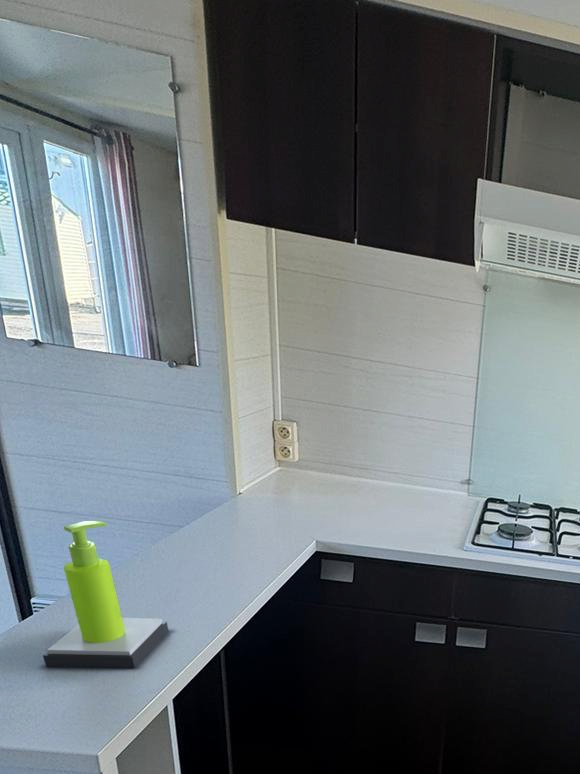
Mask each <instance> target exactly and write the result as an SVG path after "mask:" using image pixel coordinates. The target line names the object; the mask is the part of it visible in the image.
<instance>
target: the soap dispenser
mask: <svg viewBox="0 0 580 774" xmlns="http://www.w3.org/2000/svg"><path fill="white" fill-rule="evenodd" d="M108 524H109V523H107V522H105V521H102V520H85V521H80V522H76V523H71V524H68V525H65V526H63V529H64V531H65V532H69V533H71V535H72V539H73V542H72V543H70V544H69V545H68V550H69V554H70V558H71V561H70V562H68V563H66V564H65V565H64V566H63V570H64V575H65V578H66V582H67V585H68V590H69V593H70V596H71V600H72V603H73V607H74V611H75V615H76V618H77V622H78V624H79V626H80V630H81V634H82V638H83V640H85V641H87V642H91V643H102V642H108V641H112V640H115V639H118V638H120V637H121V636H123V635H124V634H125V628H124V624H123V620H122V618H123V616H122V612H121V608H120V607H121V606H120V603H119V599H118V594H117V590H116V586H115V582H114V578H113V574H112V568H111V565H110V562H109V561H108V560H107V559H104V558H99V555H98V550H97V546H96V543H95V542H93V541H90V540H88V536H87V533H86V530H89V529H93V528H98V527H99V528H100V527H101V528H102V527H107V526H108Z"/></svg>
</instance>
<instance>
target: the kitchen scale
mask: <svg viewBox="0 0 580 774" xmlns="http://www.w3.org/2000/svg"><path fill="white" fill-rule="evenodd" d="M122 620H123V624H124V628H125V634H124V635H123V636H121V637H120V638H118V639H115V640H112V641H108V642H102V643H91V642H87V641H85V640H83V638H82V634H81V630H80V626H79V623H78V624H77V625H76V626H75V627H73V628H72V629H70V630H69V631H68V632H67V633H66V634H65V635H63V636H61V638H60V639H58V640H57V641H56V642H55V643H54V644H52V645H51V646H50V647H49V648H48V649H47V650H46V651H47V652H46V653H44V654H43V655H42V657H43V661H44V664H45V667H46V668H93V669H94V668H98V669H136V668H137V667H138V666H139V664H140V663H142V661H143V660H144V659H145V658H146V657H147V656H148V655H149V654H150V652H152V651H153V650H154V648H155V647H156V646H157V645H158V644H159V643H160V642H161V641H162V640H163V639H164V638H165V636H167V635H168V633H169V632H170V631H169V626H168V622H167V621H163V620H162V618H145V617H143V618H141V617H122Z"/></svg>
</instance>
